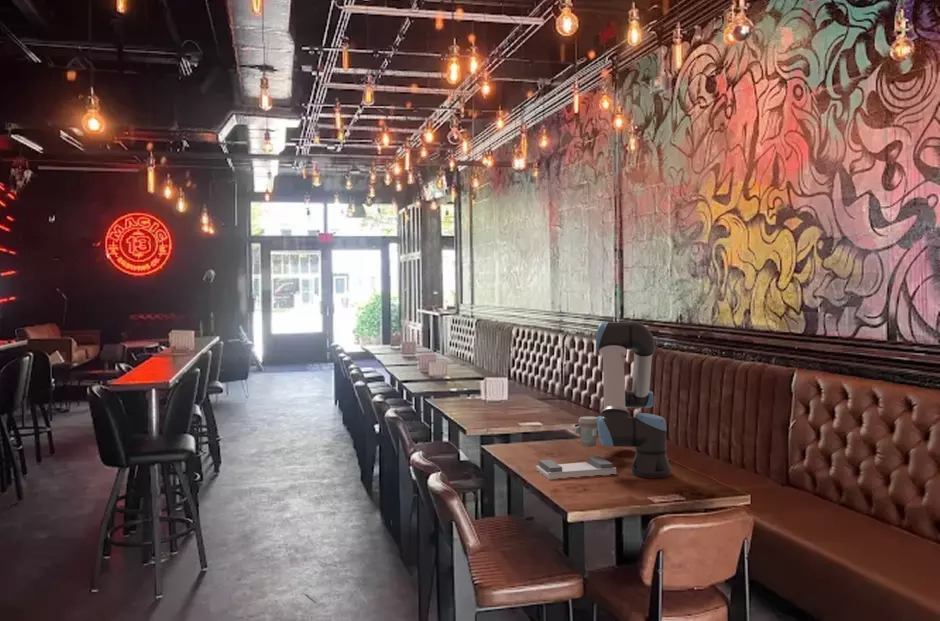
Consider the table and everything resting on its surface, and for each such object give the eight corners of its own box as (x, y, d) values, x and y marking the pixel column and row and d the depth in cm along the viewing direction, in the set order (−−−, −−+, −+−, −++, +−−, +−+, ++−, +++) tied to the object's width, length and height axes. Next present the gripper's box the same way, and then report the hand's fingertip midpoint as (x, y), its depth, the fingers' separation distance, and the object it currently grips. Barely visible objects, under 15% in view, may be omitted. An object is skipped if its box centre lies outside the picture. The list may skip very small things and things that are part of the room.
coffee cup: (574, 445, 312) (574, 417, 312) (587, 442, 318) (587, 415, 318) (590, 448, 306) (590, 419, 306) (603, 445, 312) (602, 417, 312)
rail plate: (600, 464, 304) (599, 455, 304) (616, 474, 288) (616, 464, 288) (535, 469, 297) (535, 459, 297) (548, 479, 282) (548, 469, 282)
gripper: (626, 434, 322) (607, 443, 303) (582, 430, 333) (561, 438, 313) (626, 417, 322) (607, 425, 302) (582, 413, 333) (561, 421, 313)
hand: (584, 431), depth 308 cm, fingers closed on coffee cup, 8 cm apart
